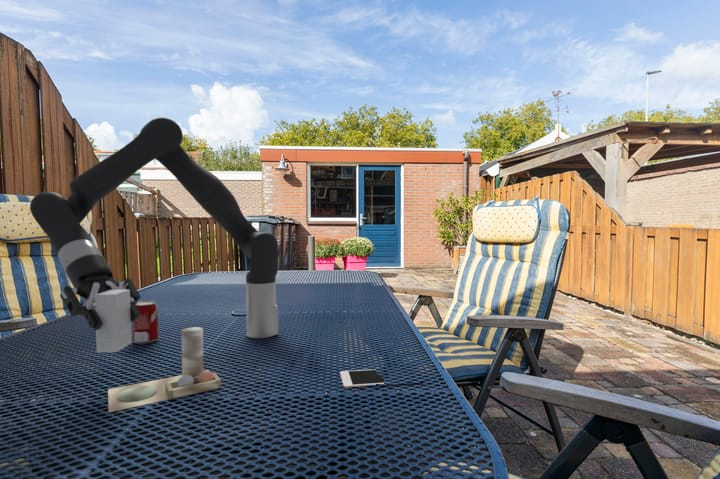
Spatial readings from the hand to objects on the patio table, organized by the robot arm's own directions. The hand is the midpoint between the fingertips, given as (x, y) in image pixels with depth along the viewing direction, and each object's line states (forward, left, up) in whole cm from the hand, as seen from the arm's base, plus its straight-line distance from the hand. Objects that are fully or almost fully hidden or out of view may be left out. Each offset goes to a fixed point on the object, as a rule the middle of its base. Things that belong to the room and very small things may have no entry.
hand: (118, 323), depth 82 cm
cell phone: (-51, +23, -16) cm, 58 cm away
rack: (-8, +5, -15) cm, 18 cm away
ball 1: (-11, +9, -14) cm, 20 cm away
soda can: (-8, -39, -15) cm, 42 cm away
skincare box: (+1, -1, -6) cm, 6 cm away
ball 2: (-15, +9, -14) cm, 22 cm away
